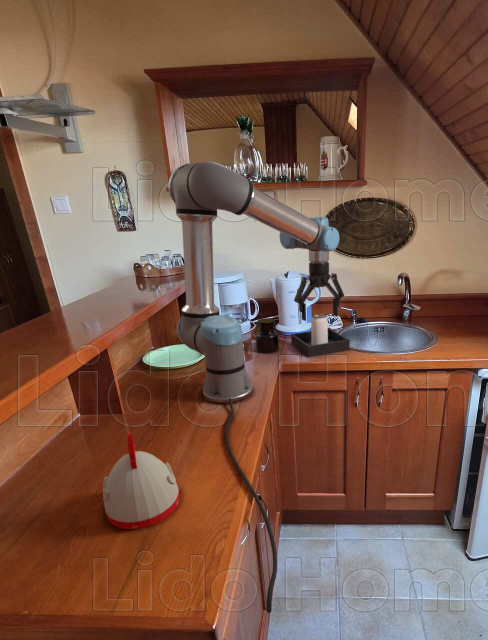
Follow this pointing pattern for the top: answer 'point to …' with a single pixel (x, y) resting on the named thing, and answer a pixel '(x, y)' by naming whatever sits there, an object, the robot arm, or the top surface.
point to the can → (319, 329)
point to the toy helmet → (139, 490)
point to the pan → (334, 344)
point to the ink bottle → (267, 336)
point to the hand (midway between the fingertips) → (319, 317)
